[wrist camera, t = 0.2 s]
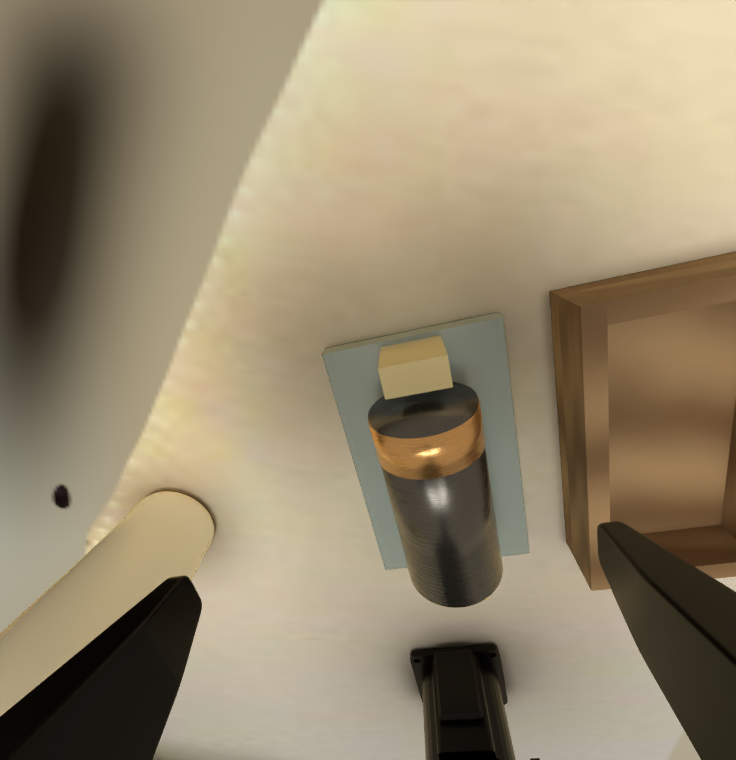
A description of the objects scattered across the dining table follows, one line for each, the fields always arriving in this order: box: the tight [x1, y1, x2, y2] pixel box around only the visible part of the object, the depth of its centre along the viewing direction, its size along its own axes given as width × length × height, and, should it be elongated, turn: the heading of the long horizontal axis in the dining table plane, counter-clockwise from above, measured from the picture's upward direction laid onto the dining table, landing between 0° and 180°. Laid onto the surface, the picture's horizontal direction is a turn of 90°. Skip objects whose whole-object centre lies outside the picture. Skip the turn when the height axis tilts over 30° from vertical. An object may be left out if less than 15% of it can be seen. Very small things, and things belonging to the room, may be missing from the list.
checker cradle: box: [322, 312, 529, 605], centre depth 21 cm, size 15×9×4 cm, turn 13°
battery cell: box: [368, 382, 503, 607], centre depth 20 cm, size 10×5×5 cm, turn 13°
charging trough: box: [550, 252, 736, 591], centre depth 20 cm, size 16×9×4 cm, turn 13°
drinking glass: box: [0, 491, 214, 716], centre depth 19 cm, size 7×7×15 cm
